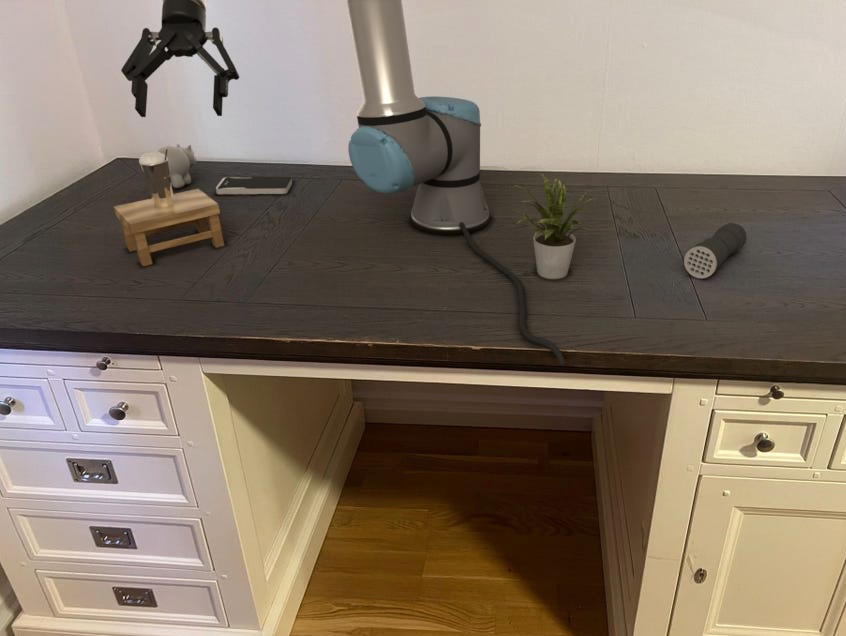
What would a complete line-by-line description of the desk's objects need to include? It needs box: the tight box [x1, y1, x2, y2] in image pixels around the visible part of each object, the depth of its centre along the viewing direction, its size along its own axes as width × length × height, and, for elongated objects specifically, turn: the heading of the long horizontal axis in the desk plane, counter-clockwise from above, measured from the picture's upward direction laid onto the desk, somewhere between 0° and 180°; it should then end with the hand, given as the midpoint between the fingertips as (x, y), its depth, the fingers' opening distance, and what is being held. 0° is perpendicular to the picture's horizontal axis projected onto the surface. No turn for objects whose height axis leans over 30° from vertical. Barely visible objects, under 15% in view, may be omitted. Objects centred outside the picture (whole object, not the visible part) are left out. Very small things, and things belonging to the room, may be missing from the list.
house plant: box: [512, 172, 595, 280], centre depth 118 cm, size 14×14×16 cm
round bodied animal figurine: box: [156, 143, 197, 189], centre depth 158 cm, size 7×12×8 cm, turn 165°
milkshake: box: [138, 149, 174, 208], centre depth 123 cm, size 4×5×10 cm
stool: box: [113, 188, 225, 267], centre depth 128 cm, size 10×15×8 cm, turn 128°
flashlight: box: [683, 222, 747, 279], centre depth 124 cm, size 15×5×5 cm, turn 142°
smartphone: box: [215, 176, 293, 195], centre depth 156 cm, size 8×1×15 cm
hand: (178, 112), depth 128 cm, fingers open, 13 cm apart
